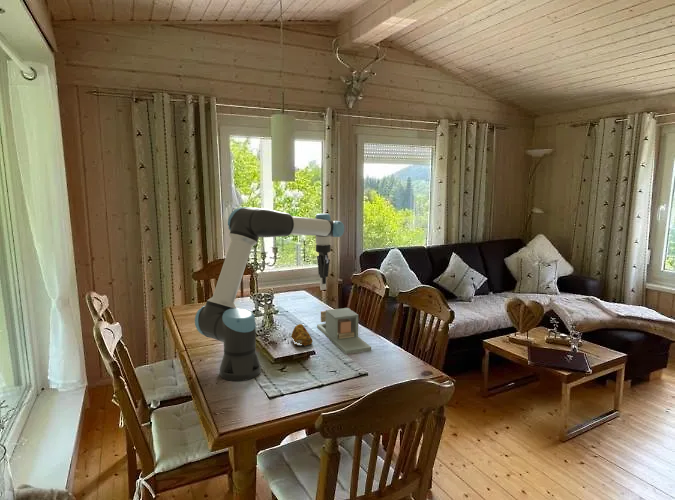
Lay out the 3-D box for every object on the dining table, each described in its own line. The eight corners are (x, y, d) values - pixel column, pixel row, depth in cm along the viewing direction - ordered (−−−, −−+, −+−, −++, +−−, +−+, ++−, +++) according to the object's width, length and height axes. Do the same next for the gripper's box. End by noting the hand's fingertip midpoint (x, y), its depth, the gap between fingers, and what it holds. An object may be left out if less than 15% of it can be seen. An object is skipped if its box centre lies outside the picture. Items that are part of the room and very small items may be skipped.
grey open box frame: (354, 336, 193) (354, 325, 193) (338, 339, 191) (338, 327, 190) (333, 320, 217) (333, 310, 217) (319, 321, 215) (319, 311, 214)
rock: (311, 349, 193) (316, 340, 186) (294, 356, 189) (298, 346, 182) (301, 329, 198) (305, 318, 191) (284, 334, 194) (288, 324, 187)
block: (350, 334, 194) (351, 321, 193) (340, 335, 192) (340, 322, 191) (345, 329, 199) (345, 317, 198) (335, 331, 197) (335, 318, 196)
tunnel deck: (371, 350, 183) (371, 323, 181) (345, 354, 178) (346, 326, 176) (339, 324, 216) (339, 301, 214) (317, 327, 211) (317, 304, 209)
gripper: (334, 245, 211) (334, 291, 214) (325, 242, 222) (325, 285, 226) (320, 246, 208) (320, 293, 211) (312, 242, 220) (312, 287, 223)
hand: (323, 289), depth 219 cm, fingers closed
